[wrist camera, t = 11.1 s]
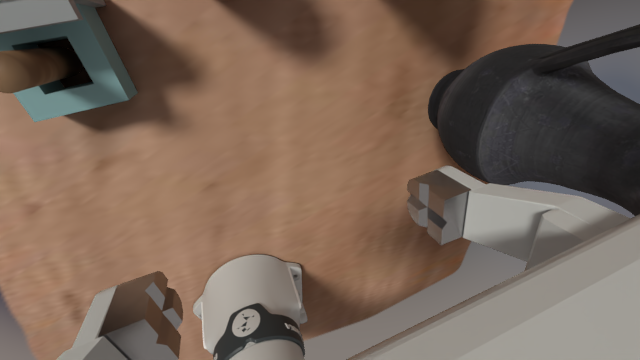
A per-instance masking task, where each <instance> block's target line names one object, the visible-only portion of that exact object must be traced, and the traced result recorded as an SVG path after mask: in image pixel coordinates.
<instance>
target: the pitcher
mask: <svg viewBox="0 0 640 360" xmlns="http://www.w3.org/2000/svg"><path fill="white" fill-rule="evenodd" d="M637 47H640V24H639V25H636V26H633V27H630V28H627V29H624V30H620V31H617V32H614V33H611V34H608V35H605V36H602V37H599V38H595V39H592V40H589V41H585V42H582V43H579V44H576V45H573V46H569V47H562V46H556V45H547V44H526V45H519V46H513V47H508V48H504V49H501V50H498V51H495V52H492V53H490V54H488V55H486V56H484V57H482V58H480V59H478V60H477V61H475V62H474V63H472V64H471V65H469V66H468V67H467V68H466V69H462V70H456V71H453V72H451V73H449V74H447V75H446V76H444V77H443V78H442V79H441V80H440V81H439V82H438V83H437V85H436V86H435V88H434V89H433V91H432V94H431V96H430V99H429V104H428V114H429V119H430V121H431V122H432V124H433V125H434V126H435V127H436V128H437V129H438V130H439V135H440V138H441V140H442V143H443V145H444V147H445V149H446V150H447V152H448V153H449V155H450V156H451V157H452V158H453V159H454V160H455V162H456V163H457V164H458V165H459V166H461V167H462V168H463V169H465V170H466V171H467V172H469V173H470V174H472V175H473V176H475V177H477V178H479V179H481V180H483V181H486V182H488V183H492V184H498V185H509V184H515V183H518V182H523V181H535V182H545V183H551V184H556V185H561V186H564V187H567V188H570V189H574V190H577V191H581V192H585V193H589V194H592V195H595V196H598V197H602V198H605V199H607V200H609V201H611V202H614V203H616V204H618V205H620V206H622V207H623V208H625V209H627V210H628V211H630V212H631V213H632V214H634V215H635V216H637V215H639V214H640V104H638V103H636V102H634V101H632V100H630V99H629V98H627V97H625V96H623V95H621V94H619V93H617V92H616V91H615V90H613V89H611V88H610V87H609V86H608V85H606V84H605V83H604V82H602V81H601V80H600V79H599V78H598V77H596V75H594V73H593V72H592V70H591V68H590V66H589V63H588V60H592V59H595V58H599V57H602V56H606V55H609V54H612V53H616V52H620V51H624V50H629V49H633V48H637Z"/></svg>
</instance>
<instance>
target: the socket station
mask: <svg viewBox="0 0 640 360" xmlns="http://www.w3.org/2000/svg"><path fill="white" fill-rule="evenodd" d="M102 6H106V4H105V2H104V0H0V51H10V50H24V49H37V48H39V47H38V45H37V44H40V43H46V42H51V41H57V40H62V39H68V40H69V41H70V43H71V45H72V46H73V48H74V50H75V52H76V53H77V55H78V57H79V59H80V60H81V62H82V64H83V66H84V67H85V69H86V71H87V72H88V74H89V76H90V78H91V79H92V81H93V82H88V83H83V84H79V85H74V86H69V87H65V88H64V86H63V84H62V83H61V81H60V80H56V81H53V82H50V83H46V84H43V85H39V86H36V87H32V88H29V89H26V90H22V91H19V92H15V93H14V95H15V96H16V97H17V99H18V100H19V102H20V103H21V104H22V106H23V107H24V108H25V110H26V111H27V112H28V114H29V115H30V116H31V118H32V119H33V120H34V122H37V121H42V120H46V119H50V118H54V117H59V116H63V115H67V114H71V113H76V112H80V111H84V110H88V109H93V108H97V107H101V106H106V105H110V104H114V103H118V102H123V101H127V100H130V99H131V98H132V97H133V96H135V95H136V94H137V93H138V92H137V90H136V88H135V86H134V84H133V82H132V80H131V78H130V76H129V74H128V72H127V70H126V68H125V66H124V64H123V62H122V61H121V59H120V57H119V55H118V53H117V51H116V49H115V47H114V45H113V43H112V41H111V39H110V37H109V35H108V33H107V31H106V29H105V27H104V25H103V23H102V21H101V19H100V17H99V15H98V13H97V11H96V9H95V8H96V7H102Z"/></svg>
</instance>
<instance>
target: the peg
mask: <svg viewBox="0 0 640 360" xmlns="http://www.w3.org/2000/svg"><path fill="white" fill-rule="evenodd" d="M81 70H82V62H81V60H80V59H79V57H78V55H77V54H76V53H75V52H73V51H72V50H70V49H68V48H65V47H51V48H37V49H24V50H10V51H0V92H3V93H15V92H19V91H22V90H26V89H29V88H32V87H36V86H39V85H43V84H46V83H50V82H53V81H56V80H60V79H63V78H67V77H70V76H73V75H76V74H78V73H80V71H81Z"/></svg>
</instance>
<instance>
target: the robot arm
mask: <svg viewBox="0 0 640 360" xmlns="http://www.w3.org/2000/svg"><path fill="white" fill-rule="evenodd" d="M407 191H408V192H409V193H411V195H410V197H409V199H408V201H407V203H408V210H409V213H410V216H411V217H412V219H413V220H414V221H415V222H416V223H417V224H418V225H420V226H424V227H427V233H428V234H429V235H430V236H431V237H432V238H434V239H435V240H436V241H437V242H438V243H439V244H440V245H443V244H445V243H448V242H450V241H453V240H455V239H458V238H460V237H463V238H465V239H468V240H470V241H473V242H476V243H478V244H481V245H484V246H486V247H489V248H492V249H494V250H497V251H500V252H502V253H505V254H507V255H510V256H513V257H516V258H518V259H521V260H523V261H526V262H527V265H526V268H525V271H524V272H522V273H520V274H518V275H516V276H514V277H512V278H510V279H508V280H506V281H504V282H502V283H500V284H498V285H496V286H494V287H492V288H490V289H488V290H486V291H484V292H482V293H479V294H478V295H475V296H473V297H471V298H469V299H468V300H465V301H463V302H461V303H460V304H457V305H456V306H453V307H451V308H449V309H447V310H445V311H443V312H441V313H440V314H437V315H435V316H433V317H431V318H429V319H427V320H425V321H423V322H421V323H419V324H417V325H415V326H413V327H411V328H409V329H407V330H405V331H403V332H401V333H399V334H397V335H395V336H393V337H391V338H389V339H387V340H385V341H383V342H381V343H379V344H377V345H375V346H373V347H371V348H369V349H367V350H365V351H363V352H361V353H359V354H357V355H355V356H353V357H351V358H349V359H347V360H640V214H639V215H637V216H635V217H633V218H628V217H626V216H624V215H622V214H619V213H617V212H615V211H612V210H610V209H608V208H605V207H603V206H601V205H598V204H596V203H594V202H592V201H589V200H587V199H585V198H582V197H580V196H573V195H567V194H560V193H552V192H545V191H539V190H532V189H525V188H519V187H512V186H505V185H498V184H492V183H489V184H487V185H486V184H484V183H482V182H480V181H478V180H476V179H474V178H473V177H471V176H469V175H467V174H465V173H463V172H461V171H459V170H458V169H456V168H454V167H452V166H447V165H446V166H443V167H441V168H438V169H436V170H434V171H432V172H429V173H426V174H424V175H421V176H418V177H416V178H413V179H410V180H409V181H408V184H407ZM167 282H168V279H167V278H166V276H165V275H164V274H163V272H160V271H157V272H154V273H151V274H148V275H145V276H142V277H139V278H136V279H133V280H131V281H128V282H125V283H122V284H120V285H116V286H114V287H111V288H108V289H105V290H102V291H100V292H99V293H98V294H96V295H95V297H94V300H93V302H92V304H91V306H90V309H89V311H88V313H87V315H86V318H85V320H84V322H83V324H82V326H81V329H80V331H79V333H78V335H77V338H76V340H75V342H74V344H73V347H72V349H69V350H67V351H64V352H63V353H62V354H61V355H60V356H59V357H58V358H57V360H178V359H179V351H180V341H181V335H180V334H179V332H178V331H177V329H178V327H179V326H180V324H181V323H182V320H183V309H182V302H181V300H180V297H179V295H178V294H177V292H176V291H175V290H174V289H171V288H168V287H167ZM193 312H194V314H195V315H196V316H197V317H199V318H200V319H201V320H202V330H203V345H204V348H205V349H207V350H208V351H209V352H210V353H211V354H213V360H305V359H304V355H305V349H304V342H303V338H302V335H301V333H300V324H301V323H305V322H307V315H306V311H305V309H304V306H303V304H302V270H301V266H300V265H299V264H297V263H289V262H283V261H281V260H279V259H277V258H275V257H272V256H268V255H248V256H243V257H240V258H237V259H234V260H232V261H230V262H228V263H226V264H224V265H223V266H221V267H220V268H219V269H218V270H216V271H215V272H214V273H213V275H212V276H211V277H210V279H209V280H208V282H207V284H206V287H205V290H204V293H203V295H202V296H201V297H200V298H199V299H198V300H197V301H196V302H195V304H194V305H193Z"/></svg>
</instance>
